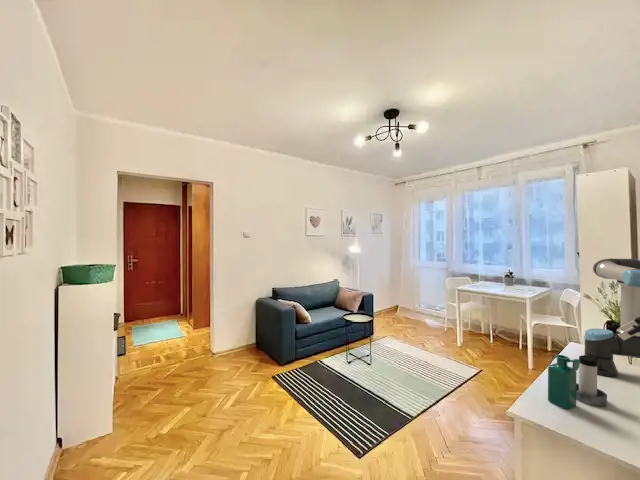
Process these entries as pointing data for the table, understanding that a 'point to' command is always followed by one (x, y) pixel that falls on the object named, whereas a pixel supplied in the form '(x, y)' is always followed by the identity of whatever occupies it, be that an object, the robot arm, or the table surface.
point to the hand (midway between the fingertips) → (621, 333)
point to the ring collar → (592, 398)
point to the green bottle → (562, 382)
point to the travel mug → (588, 375)
